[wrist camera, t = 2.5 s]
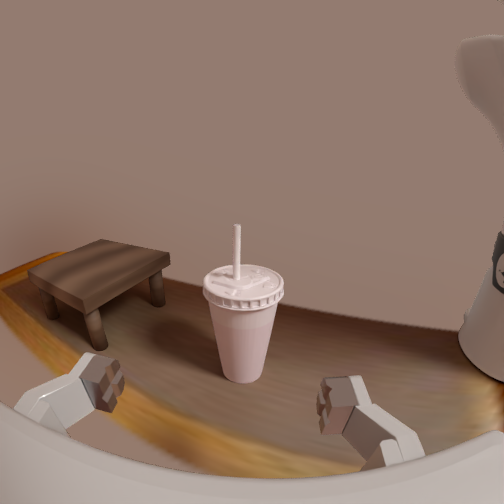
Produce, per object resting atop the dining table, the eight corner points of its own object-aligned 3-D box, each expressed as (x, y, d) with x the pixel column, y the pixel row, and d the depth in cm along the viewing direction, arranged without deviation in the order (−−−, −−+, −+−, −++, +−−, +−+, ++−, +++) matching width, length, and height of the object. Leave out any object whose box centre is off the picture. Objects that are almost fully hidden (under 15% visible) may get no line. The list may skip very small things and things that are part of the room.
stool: (174, 301, 37) (169, 252, 35) (100, 357, 25) (82, 299, 22) (107, 280, 42) (101, 239, 39) (41, 317, 29) (27, 270, 27)
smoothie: (203, 354, 27) (195, 217, 22) (263, 344, 29) (270, 213, 24) (216, 399, 21) (207, 240, 17) (286, 385, 23) (304, 234, 19)
